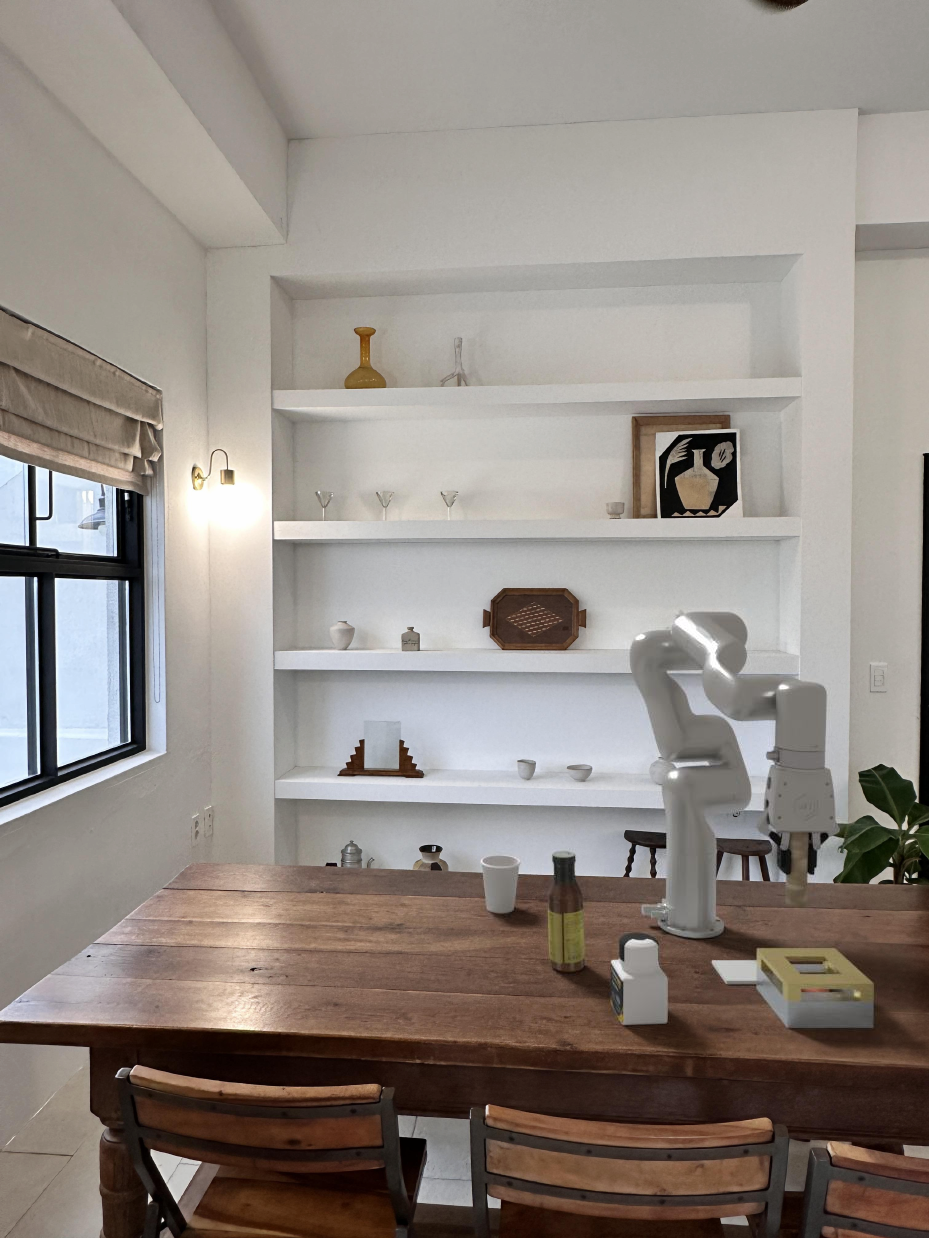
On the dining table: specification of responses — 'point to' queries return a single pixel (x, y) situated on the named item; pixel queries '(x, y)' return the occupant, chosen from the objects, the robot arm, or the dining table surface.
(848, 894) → the dining table surface
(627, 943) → the medicine bottle
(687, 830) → the robot arm
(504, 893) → the dixie cup
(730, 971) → the pad
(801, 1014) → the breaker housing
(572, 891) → the sauce bottle
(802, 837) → the beige cylinder rod
